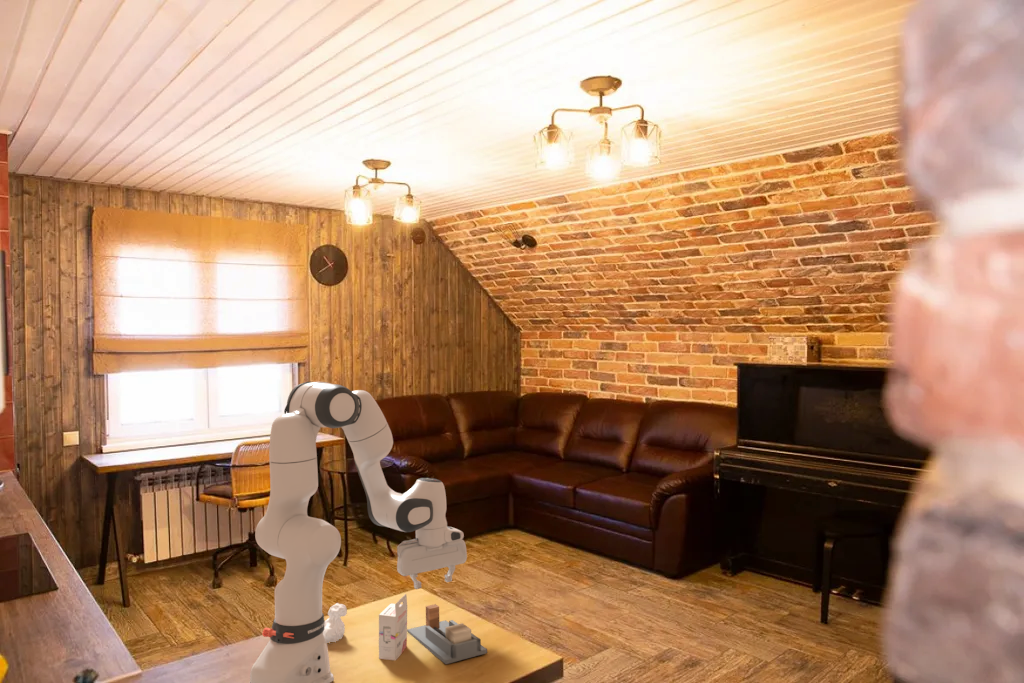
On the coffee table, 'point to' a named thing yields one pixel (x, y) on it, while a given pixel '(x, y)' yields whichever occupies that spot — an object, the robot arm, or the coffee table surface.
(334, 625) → the bust
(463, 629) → the block
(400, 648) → the ink cartridge box
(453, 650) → the grey slotted base
